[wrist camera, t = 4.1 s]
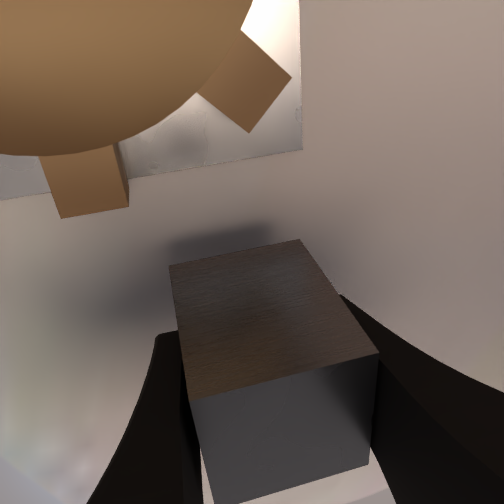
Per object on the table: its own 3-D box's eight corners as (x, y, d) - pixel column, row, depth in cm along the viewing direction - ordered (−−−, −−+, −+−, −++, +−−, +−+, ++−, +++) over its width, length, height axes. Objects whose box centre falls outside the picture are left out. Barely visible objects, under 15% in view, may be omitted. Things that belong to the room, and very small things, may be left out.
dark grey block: (302, 336, 15) (368, 464, 11) (190, 363, 15) (216, 510, 10) (299, 238, 13) (379, 352, 9) (168, 265, 12) (188, 401, 8)
